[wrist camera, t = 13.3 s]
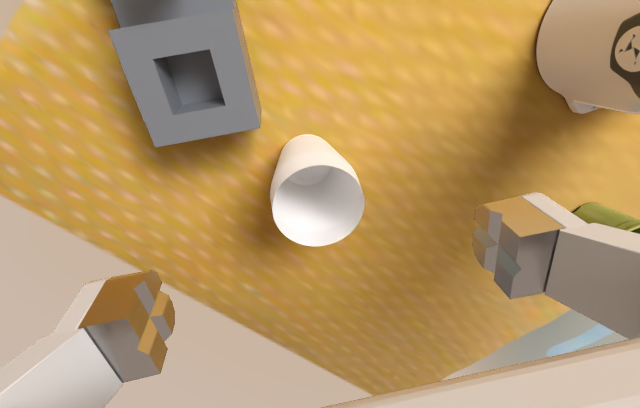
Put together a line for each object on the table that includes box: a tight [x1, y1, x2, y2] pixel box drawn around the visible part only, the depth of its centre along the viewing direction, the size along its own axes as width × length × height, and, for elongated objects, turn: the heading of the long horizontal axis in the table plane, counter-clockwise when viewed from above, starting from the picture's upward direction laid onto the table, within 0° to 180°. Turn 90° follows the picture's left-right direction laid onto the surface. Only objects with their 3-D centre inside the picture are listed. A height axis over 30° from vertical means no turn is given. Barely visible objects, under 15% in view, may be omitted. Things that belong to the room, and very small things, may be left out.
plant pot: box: [572, 203, 640, 234], centre depth 50 cm, size 9×9×9 cm
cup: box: [270, 134, 365, 246], centre depth 38 cm, size 9×9×12 cm
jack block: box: [108, 0, 261, 147], centre depth 31 cm, size 10×20×7 cm, turn 8°
